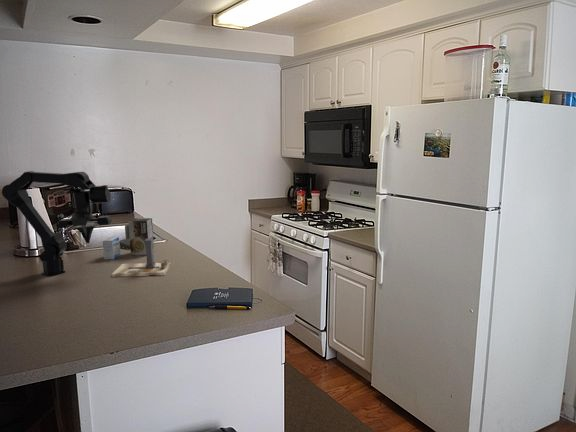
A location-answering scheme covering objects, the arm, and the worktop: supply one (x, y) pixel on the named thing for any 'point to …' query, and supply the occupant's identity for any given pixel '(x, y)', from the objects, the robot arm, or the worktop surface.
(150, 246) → the dark grey tall block
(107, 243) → the medicine box
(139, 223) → the coffee box
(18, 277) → the worktop surface
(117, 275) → the switch panel
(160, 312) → the worktop surface
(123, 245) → the media streaming box
